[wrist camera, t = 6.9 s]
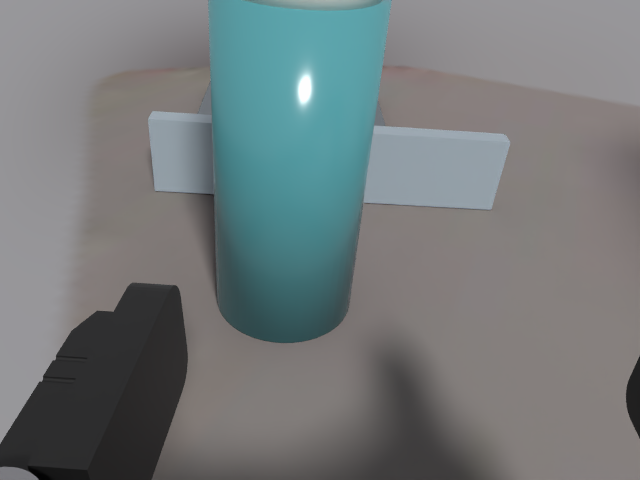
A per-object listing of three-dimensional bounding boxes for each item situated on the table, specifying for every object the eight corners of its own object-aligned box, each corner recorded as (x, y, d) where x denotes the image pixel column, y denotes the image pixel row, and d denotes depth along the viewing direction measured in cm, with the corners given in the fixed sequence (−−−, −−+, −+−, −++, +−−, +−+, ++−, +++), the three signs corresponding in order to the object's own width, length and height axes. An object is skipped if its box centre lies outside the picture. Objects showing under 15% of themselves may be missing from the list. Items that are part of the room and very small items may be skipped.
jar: (345, 260, 27) (385, -53, 19) (353, 345, 22) (410, -21, 15) (225, 254, 26) (219, -68, 19) (208, 339, 22) (192, -39, 14)
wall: (486, 200, 32) (504, 134, 30) (491, 209, 31) (510, 142, 29) (158, 181, 31) (152, 111, 29) (155, 190, 30) (148, 119, 28)
